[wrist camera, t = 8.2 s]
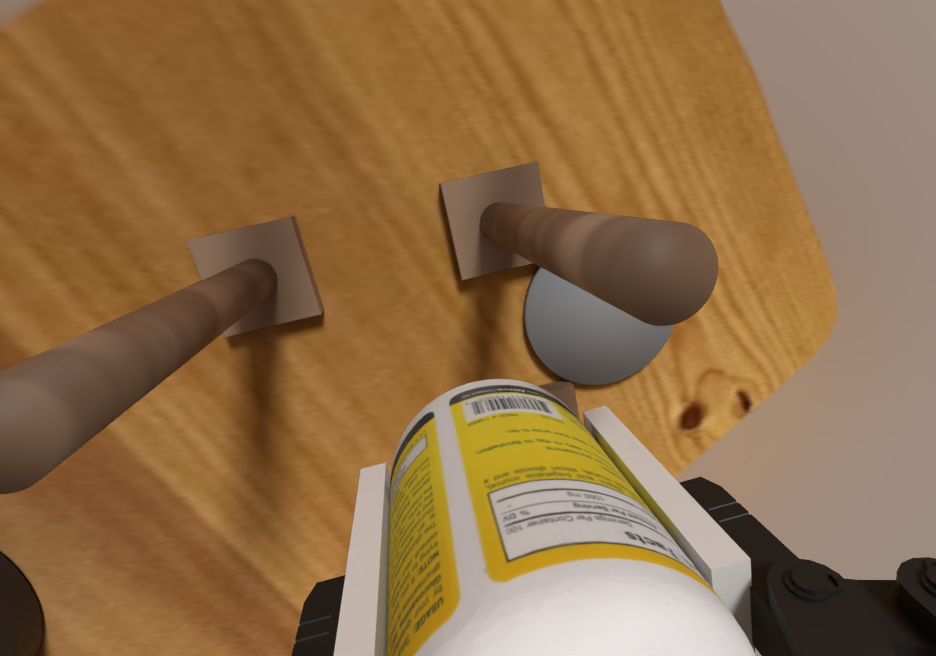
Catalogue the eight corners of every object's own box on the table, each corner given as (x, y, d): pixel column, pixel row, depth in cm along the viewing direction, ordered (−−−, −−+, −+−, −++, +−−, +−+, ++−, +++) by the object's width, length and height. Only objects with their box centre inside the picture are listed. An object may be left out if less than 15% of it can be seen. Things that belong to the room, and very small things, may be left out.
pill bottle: (459, 578, 16) (564, 1288, 6) (350, 444, 14) (211, 1134, 4) (617, 481, 16) (1027, 1039, 6) (527, 333, 14) (887, 750, 4)
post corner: (460, 277, 26) (563, 423, 10) (439, 183, 25) (519, 169, 8) (547, 256, 27) (791, 362, 10) (532, 162, 25) (788, 108, 9)
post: (230, 332, 26) (-86, 595, 9) (194, 238, 24) (-262, 345, 7) (324, 309, 26) (189, 523, 9) (294, 216, 25) (72, 270, 8)
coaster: (537, 397, 29) (540, 401, 29) (510, 250, 26) (512, 251, 26) (678, 360, 30) (684, 363, 29) (665, 213, 27) (671, 213, 27)
